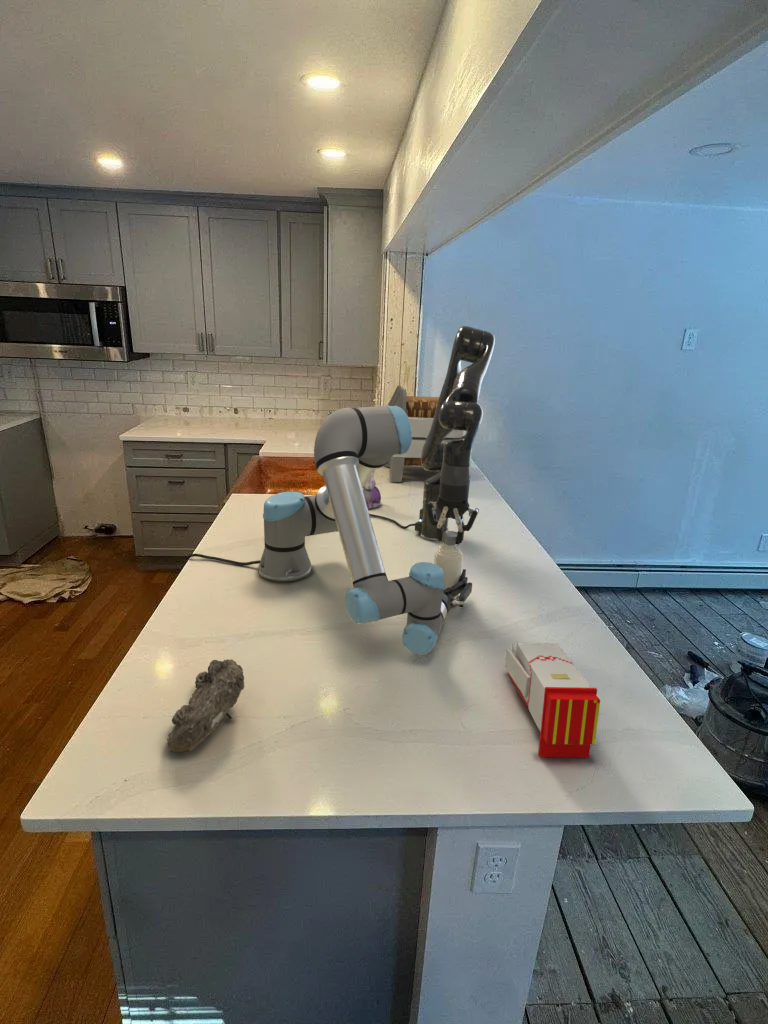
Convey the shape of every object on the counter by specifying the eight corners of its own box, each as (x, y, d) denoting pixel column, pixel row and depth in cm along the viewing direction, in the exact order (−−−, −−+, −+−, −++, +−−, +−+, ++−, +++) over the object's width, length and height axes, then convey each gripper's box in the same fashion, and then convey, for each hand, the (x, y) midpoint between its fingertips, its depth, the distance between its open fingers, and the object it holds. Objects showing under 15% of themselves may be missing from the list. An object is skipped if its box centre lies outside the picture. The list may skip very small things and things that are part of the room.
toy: (553, 625, 127) (610, 695, 97) (548, 680, 129) (601, 765, 100) (500, 624, 126) (540, 694, 97) (495, 679, 129) (533, 764, 100)
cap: (439, 538, 152) (440, 530, 151) (456, 538, 152) (456, 530, 151) (442, 545, 148) (443, 536, 147) (459, 545, 148) (460, 537, 147)
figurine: (365, 510, 221) (366, 473, 215) (354, 502, 229) (355, 466, 224) (386, 507, 225) (388, 471, 220) (375, 500, 233) (376, 464, 228)
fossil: (192, 660, 117) (244, 628, 112) (224, 691, 120) (276, 661, 115) (142, 746, 98) (202, 712, 93) (182, 779, 101) (242, 748, 96)
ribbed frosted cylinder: (429, 604, 153) (434, 539, 147) (432, 591, 160) (437, 529, 154) (456, 608, 152) (463, 543, 145) (459, 595, 159) (465, 532, 152)
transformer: (382, 463, 289) (386, 382, 275) (445, 464, 293) (451, 384, 279) (390, 482, 257) (394, 392, 243) (460, 483, 261) (468, 394, 247)
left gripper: (391, 615, 141) (413, 577, 162) (472, 631, 136) (484, 589, 157) (392, 588, 139) (414, 553, 159) (475, 603, 133) (487, 564, 154)
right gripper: (485, 480, 145) (479, 542, 151) (432, 472, 150) (427, 532, 156) (479, 488, 139) (472, 552, 144) (423, 480, 143) (419, 542, 149)
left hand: (449, 571), depth 158 cm, fingers closed on ribbed frosted cylinder, 7 cm apart
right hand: (449, 541), depth 150 cm, fingers closed on cap, 4 cm apart
